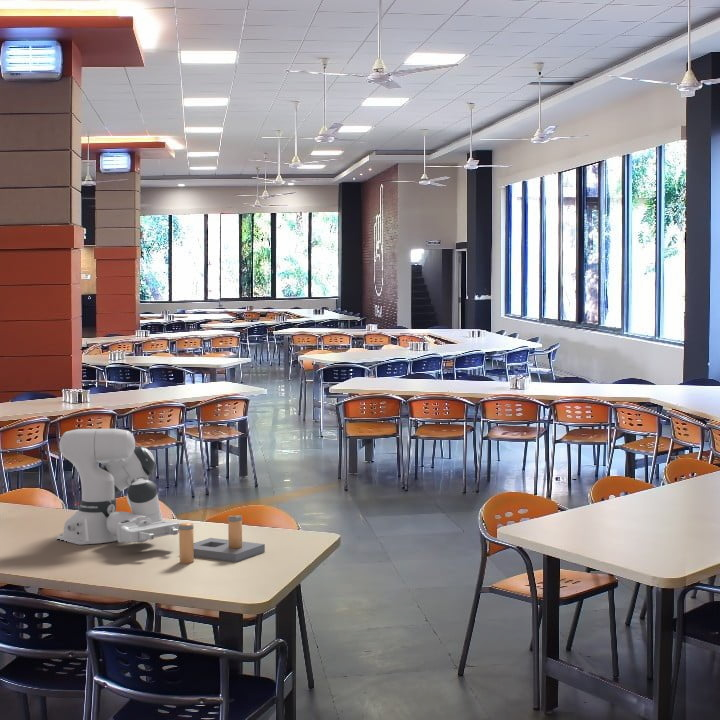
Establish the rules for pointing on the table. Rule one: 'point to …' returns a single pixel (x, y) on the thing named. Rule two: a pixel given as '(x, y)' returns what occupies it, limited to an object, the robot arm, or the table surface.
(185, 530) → the orange banded cylinder
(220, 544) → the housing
